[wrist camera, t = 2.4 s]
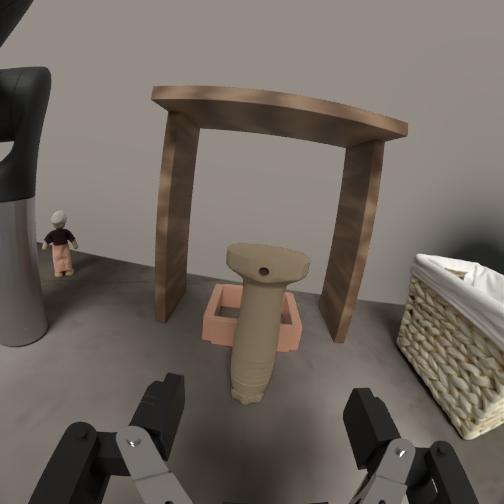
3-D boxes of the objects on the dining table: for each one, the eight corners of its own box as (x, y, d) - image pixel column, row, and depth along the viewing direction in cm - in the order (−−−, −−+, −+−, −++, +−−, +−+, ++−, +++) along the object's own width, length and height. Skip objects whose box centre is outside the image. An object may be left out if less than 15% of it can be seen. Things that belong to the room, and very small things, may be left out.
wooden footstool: (140, 343, 31) (153, 86, 23) (177, 289, 48) (192, 119, 41) (355, 367, 31) (408, 123, 24) (326, 307, 49) (355, 141, 41)
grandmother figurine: (76, 268, 49) (74, 208, 46) (80, 274, 47) (78, 210, 44) (44, 273, 44) (40, 210, 40) (46, 280, 41) (42, 213, 38)
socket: (201, 342, 34) (202, 318, 33) (215, 301, 46) (216, 282, 45) (297, 353, 34) (303, 330, 33) (288, 310, 46) (292, 291, 45)
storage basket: (527, 418, 15) (580, 319, 11) (459, 457, 15) (540, 329, 11) (452, 339, 38) (478, 261, 35) (382, 342, 38) (410, 250, 34)
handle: (221, 375, 28) (235, 240, 24) (280, 386, 27) (309, 252, 23) (209, 404, 23) (220, 253, 20) (276, 417, 23) (311, 268, 19)
